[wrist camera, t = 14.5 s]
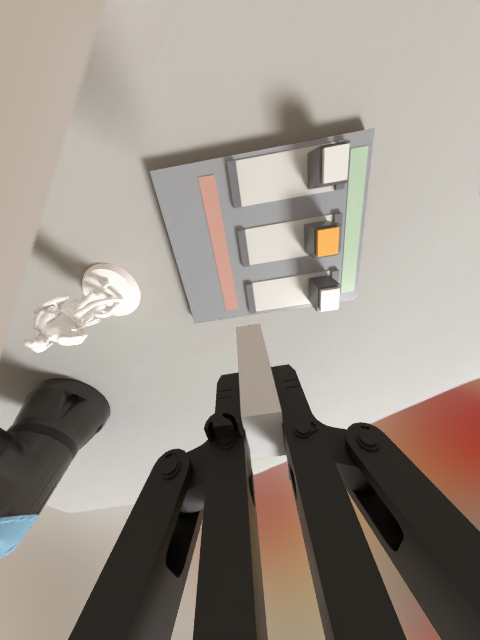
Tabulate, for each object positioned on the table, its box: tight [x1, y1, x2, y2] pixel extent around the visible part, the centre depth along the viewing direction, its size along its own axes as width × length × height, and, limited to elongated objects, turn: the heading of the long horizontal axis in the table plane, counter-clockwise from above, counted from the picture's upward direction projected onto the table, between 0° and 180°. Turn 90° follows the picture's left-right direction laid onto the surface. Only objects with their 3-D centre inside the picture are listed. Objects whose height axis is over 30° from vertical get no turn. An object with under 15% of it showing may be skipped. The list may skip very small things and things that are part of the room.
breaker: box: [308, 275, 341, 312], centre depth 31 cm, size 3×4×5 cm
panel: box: [150, 128, 374, 323], centre depth 31 cm, size 26×21×2 cm
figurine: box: [24, 263, 140, 353], centre depth 28 cm, size 9×9×15 cm
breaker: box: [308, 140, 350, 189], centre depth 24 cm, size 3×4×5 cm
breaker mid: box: [304, 220, 340, 259], centre depth 28 cm, size 3×4×5 cm
